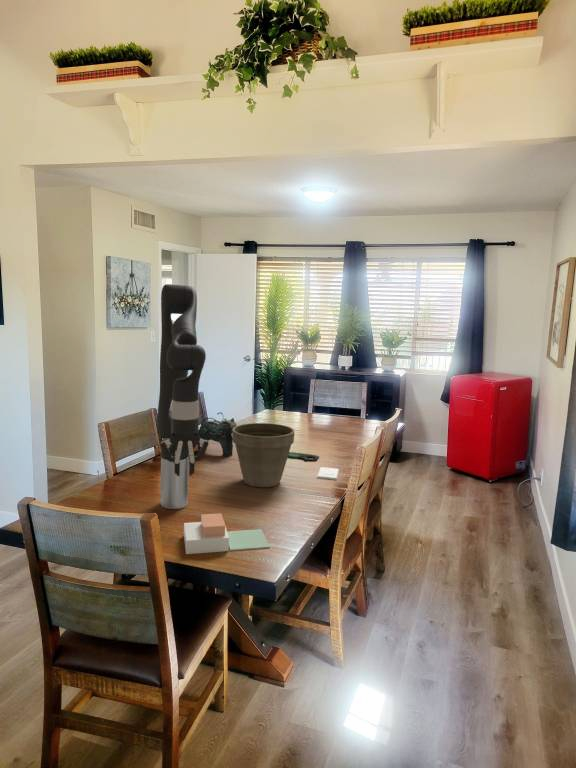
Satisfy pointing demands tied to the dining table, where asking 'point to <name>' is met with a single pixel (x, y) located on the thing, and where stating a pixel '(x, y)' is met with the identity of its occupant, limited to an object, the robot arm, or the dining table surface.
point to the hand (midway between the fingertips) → (184, 474)
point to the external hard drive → (328, 473)
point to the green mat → (247, 540)
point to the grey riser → (203, 540)
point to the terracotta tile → (212, 525)
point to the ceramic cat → (218, 433)
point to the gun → (303, 456)
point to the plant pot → (262, 451)
